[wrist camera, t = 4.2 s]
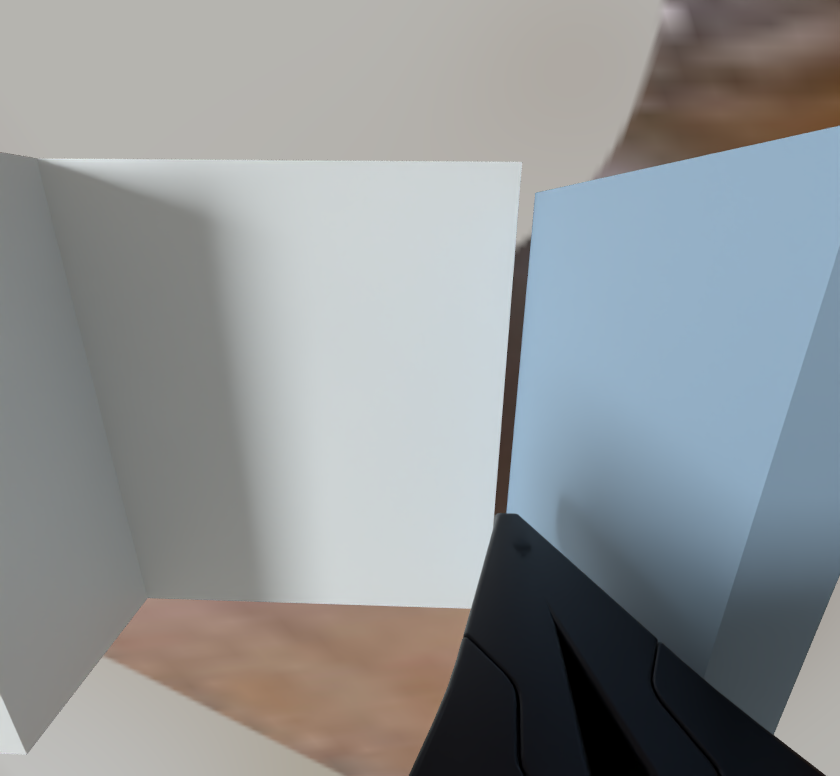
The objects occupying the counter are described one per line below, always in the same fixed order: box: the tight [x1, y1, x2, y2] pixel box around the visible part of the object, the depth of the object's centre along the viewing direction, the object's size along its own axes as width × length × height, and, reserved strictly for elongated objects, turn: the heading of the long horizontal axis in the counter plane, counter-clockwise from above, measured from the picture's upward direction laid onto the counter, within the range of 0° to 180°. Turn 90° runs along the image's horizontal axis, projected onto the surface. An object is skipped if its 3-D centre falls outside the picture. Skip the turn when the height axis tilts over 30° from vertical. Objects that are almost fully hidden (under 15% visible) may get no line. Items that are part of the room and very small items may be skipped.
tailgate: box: [506, 126, 840, 735], centre depth 9 cm, size 2×13×8 cm, turn 0°
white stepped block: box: [0, 152, 522, 755], centre depth 12 cm, size 14×14×8 cm
